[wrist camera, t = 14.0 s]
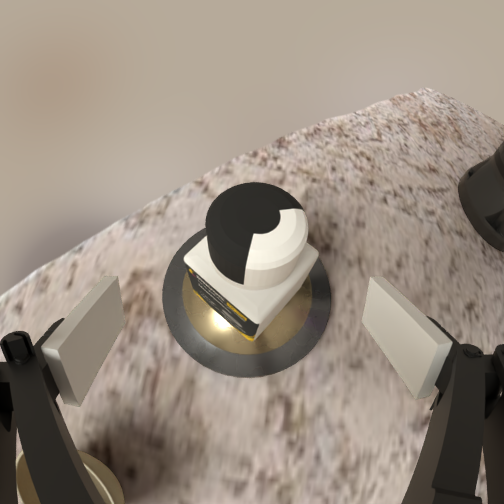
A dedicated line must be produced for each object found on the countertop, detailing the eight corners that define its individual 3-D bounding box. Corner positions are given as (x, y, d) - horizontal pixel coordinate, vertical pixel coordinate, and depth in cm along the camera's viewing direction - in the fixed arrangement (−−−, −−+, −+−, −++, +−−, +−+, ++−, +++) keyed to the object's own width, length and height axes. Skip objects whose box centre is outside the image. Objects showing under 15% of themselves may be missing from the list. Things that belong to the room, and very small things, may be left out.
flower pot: (67, 418, 22) (26, 419, 15) (157, 469, 21) (134, 490, 14) (45, 489, 17) (6, 501, 11) (129, 540, 16) (104, 569, 10)
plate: (317, 224, 33) (320, 216, 32) (335, 372, 26) (340, 370, 25) (171, 223, 32) (169, 216, 31) (160, 376, 25) (157, 375, 23)
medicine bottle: (192, 291, 27) (168, 218, 16) (244, 240, 30) (252, 152, 19) (251, 343, 25) (267, 301, 15) (301, 286, 28) (342, 214, 17)
